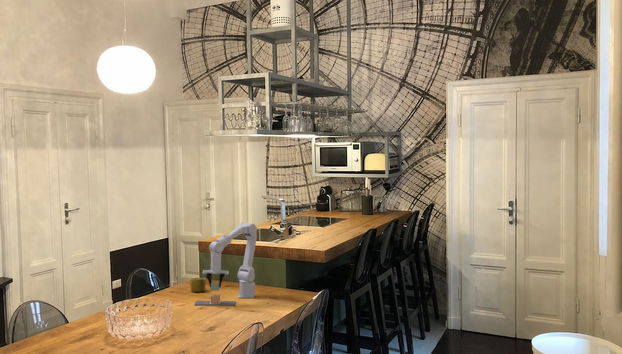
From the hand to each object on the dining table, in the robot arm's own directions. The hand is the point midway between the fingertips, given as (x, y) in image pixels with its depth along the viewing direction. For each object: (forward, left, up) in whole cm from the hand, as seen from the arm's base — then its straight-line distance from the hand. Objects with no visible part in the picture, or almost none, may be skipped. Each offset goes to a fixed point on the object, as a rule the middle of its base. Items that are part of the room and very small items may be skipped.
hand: (215, 286), depth 288 cm
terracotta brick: (0, 0, -9) cm, 9 cm away
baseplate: (0, 0, -9) cm, 9 cm away
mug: (+14, -31, -10) cm, 35 cm away
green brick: (0, 0, -1) cm, 1 cm away
